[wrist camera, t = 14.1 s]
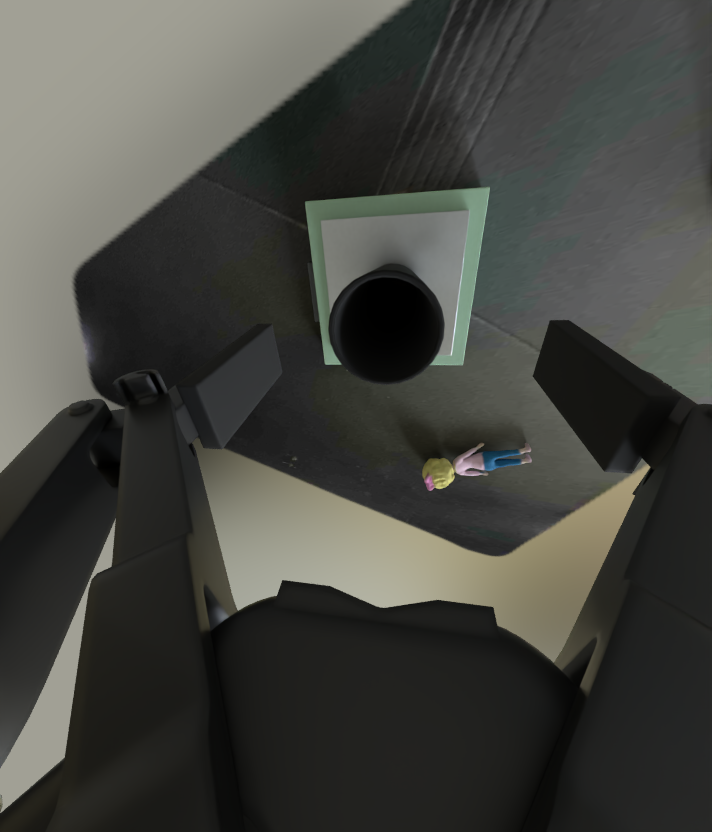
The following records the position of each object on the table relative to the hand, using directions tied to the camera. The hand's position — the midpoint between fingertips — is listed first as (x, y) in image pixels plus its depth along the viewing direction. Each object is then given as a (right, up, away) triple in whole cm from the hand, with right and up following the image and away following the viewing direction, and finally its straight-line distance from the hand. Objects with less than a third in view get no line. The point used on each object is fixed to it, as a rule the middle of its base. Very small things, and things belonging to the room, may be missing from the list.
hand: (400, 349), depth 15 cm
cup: (+1, +9, +15) cm, 17 cm away
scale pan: (+2, +9, +15) cm, 18 cm away
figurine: (+15, -9, +30) cm, 34 cm away
